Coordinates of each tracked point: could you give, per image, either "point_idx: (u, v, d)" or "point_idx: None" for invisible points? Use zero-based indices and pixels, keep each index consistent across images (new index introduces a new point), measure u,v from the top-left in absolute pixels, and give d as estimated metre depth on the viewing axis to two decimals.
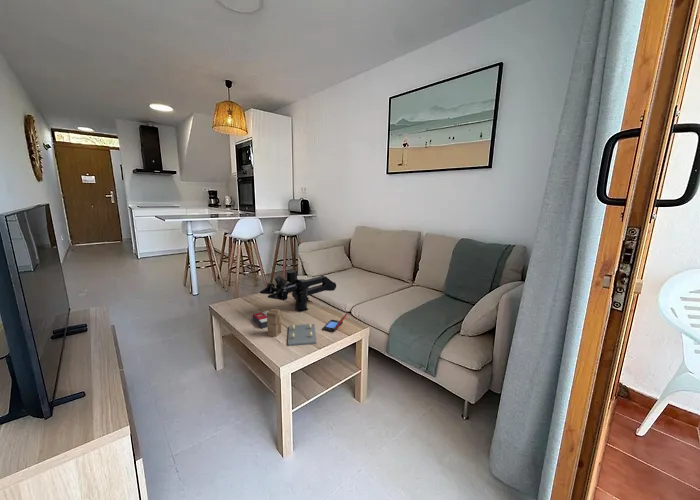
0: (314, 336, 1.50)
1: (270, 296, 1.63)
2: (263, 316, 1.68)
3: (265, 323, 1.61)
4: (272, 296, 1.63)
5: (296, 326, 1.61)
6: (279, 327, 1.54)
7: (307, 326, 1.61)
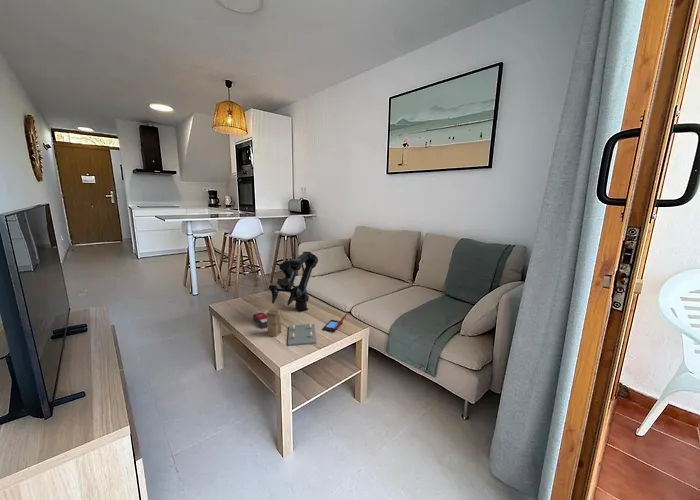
0: (314, 336, 1.50)
1: (289, 303, 1.58)
2: (264, 316, 1.68)
3: (266, 323, 1.61)
4: (290, 301, 1.59)
5: (296, 326, 1.61)
6: (279, 327, 1.54)
7: (307, 326, 1.61)
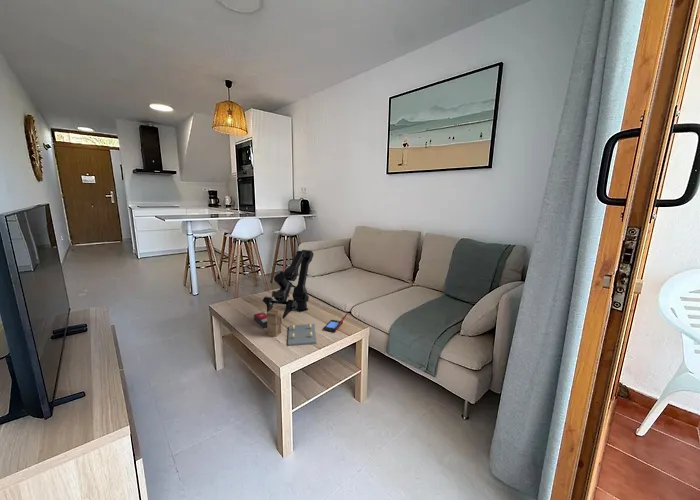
0: (314, 336, 1.50)
1: (284, 316, 1.53)
2: (265, 316, 1.68)
3: None
4: (286, 314, 1.54)
5: (296, 326, 1.61)
6: (279, 327, 1.54)
7: (307, 326, 1.61)
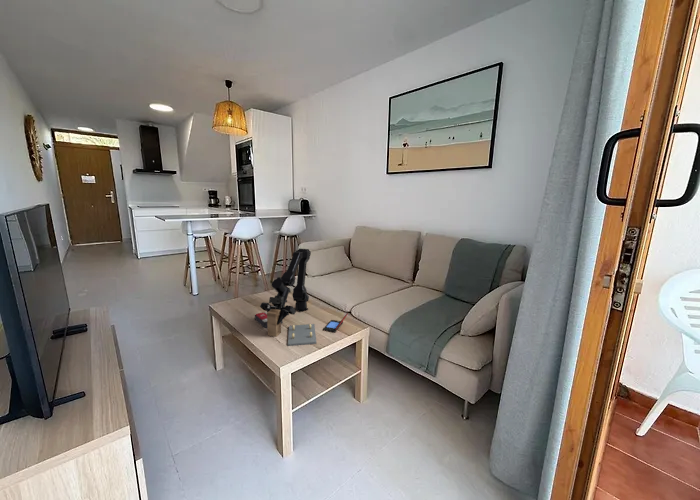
0: (314, 336, 1.50)
1: (279, 322, 1.52)
2: (266, 316, 1.68)
3: None
4: (280, 320, 1.52)
5: (296, 326, 1.61)
6: (279, 327, 1.54)
7: (307, 326, 1.61)
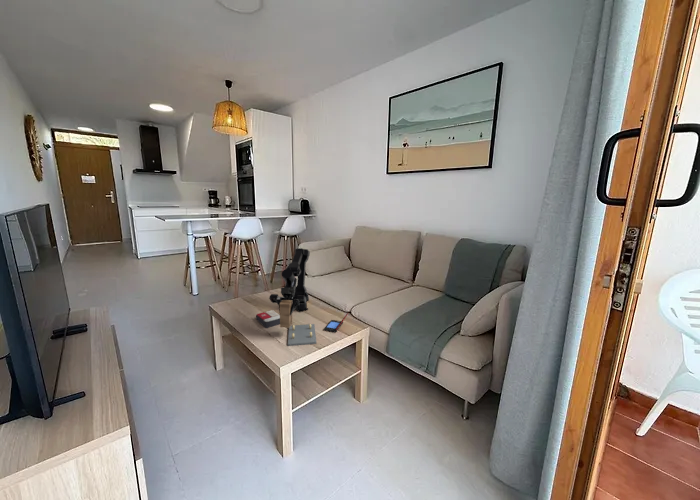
0: (314, 336, 1.50)
1: (292, 312, 1.50)
2: (267, 316, 1.68)
3: (270, 322, 1.62)
4: (293, 310, 1.51)
5: (296, 326, 1.61)
6: (291, 318, 1.52)
7: (307, 326, 1.61)
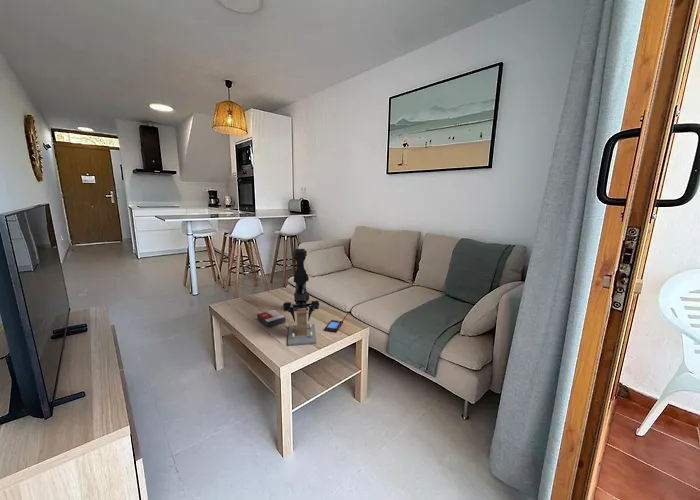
0: (314, 336, 1.50)
1: (309, 318, 1.52)
2: (268, 315, 1.68)
3: (271, 322, 1.62)
4: None
5: (296, 326, 1.61)
6: None
7: (307, 326, 1.61)
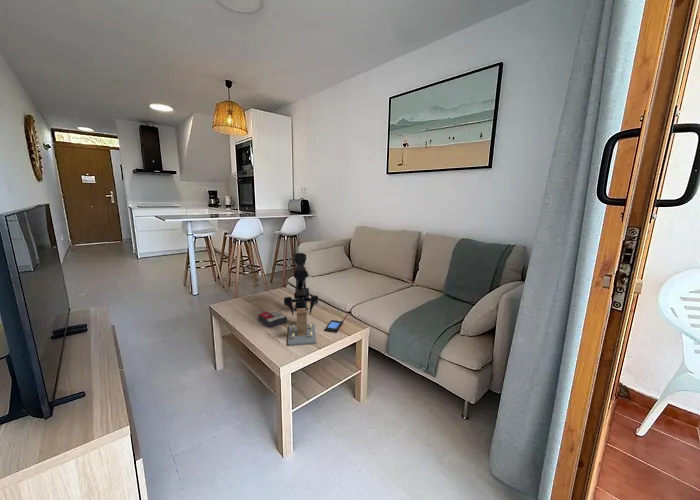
0: (314, 336, 1.50)
1: None
2: (270, 315, 1.69)
3: (273, 322, 1.62)
4: (311, 310, 1.61)
5: (296, 326, 1.61)
6: None
7: (307, 326, 1.61)
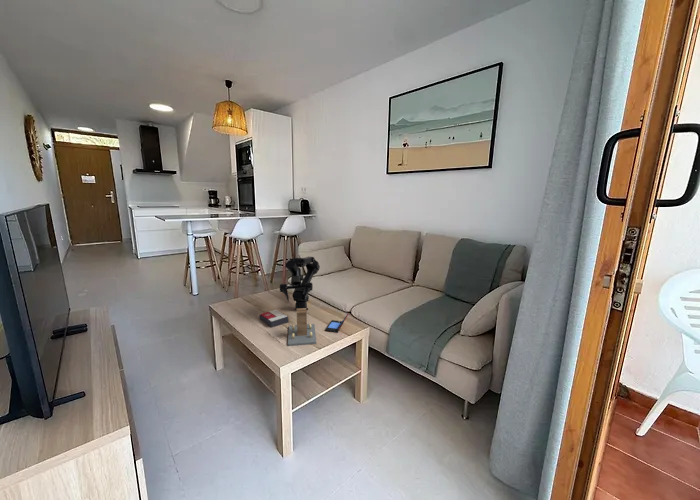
0: (314, 336, 1.50)
1: (305, 298, 1.66)
2: (271, 315, 1.69)
3: (275, 322, 1.63)
4: (306, 296, 1.67)
5: (296, 326, 1.61)
6: None
7: (307, 326, 1.61)
